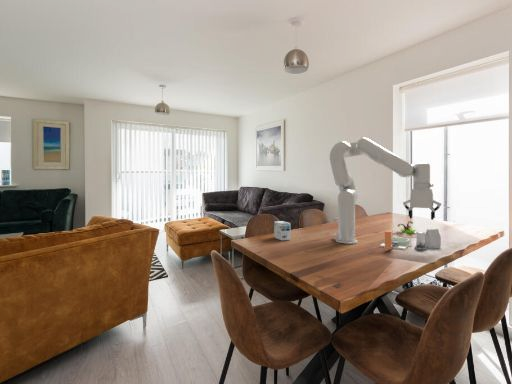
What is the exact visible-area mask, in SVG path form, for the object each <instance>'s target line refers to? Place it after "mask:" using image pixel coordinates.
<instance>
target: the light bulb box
mask: <svg viewBox="0 0 512 384" xmlns="http://www.w3.org/2000/svg"><path fill="white" fill-rule="evenodd" d="M273 225H274V226H273V229H274V230H273V232H274V233H273V234H274V235H273V236H274V237H275V238H274V237H273V238H274V239H277V240H280V241H291V235H292V234H291V233H292V231H291V222H288V221H284V220H278V221H274V222H273Z"/></svg>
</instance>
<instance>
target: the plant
mask: <svg viewBox="0 0 512 384" xmlns="http://www.w3.org/2000/svg"><path fill="white" fill-rule="evenodd" d="M409 224H411V225H409ZM412 224H414V222H413V221H411V220H410V221H408V222H407V224H406V225H405V224H404V223H399V224H397V227H399V230H400V231H395V232H394V231H393V235H394V236H395V237H397V238H406V239H416V232H417V229H413V228H412ZM400 226H403V229H402V228H401V227H400Z"/></svg>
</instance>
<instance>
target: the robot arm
mask: <svg viewBox="0 0 512 384" xmlns="http://www.w3.org/2000/svg"><path fill="white" fill-rule="evenodd" d="M362 155H364V156H366V157H367V158H369V159H370V160H372V161H374V162H375V163H377V164H379V165H382V166H384V167H385V168H387V169H390V170H391V171H392V172H394V173H396V174H397V175H398V176H399V177H400V178H401V177H402V178H411V177H412V187H413V188H411V191H410V196H409V197H410V198H409V199H408V200H405V201H403V202H402V204H403V206H404V208H405V209H406V210H407V211H408V217H409V219H413V210H412V209H414V208H416V209H429V210H431V211H430V220H432V221H433V220H434V219H435V218H436V211H438V210H439V209H440V207H442V202H440V201H436V200H434V194H433V189H432V187H433V188H434V184H433V183H431V164H430V163H427V162H419V163H415V164H412V163H410V162H408V161H407V160H405V159H403V158H401V157H400V156H398V155H397V154H395V153H393V152H391V151H390V150H388V149H386V148H384V147H383V146H381V145H380V144H378V143H376V142H374V141H373V140H371V139H370V138H368V137H362V138H360V139H358V140H357V141H355V142H350V143H349V142H347V141H345V140H341V141H338V142H337V143H335V144H334V146H332V148H331V150H330V153H329V162H330V166H331V171H332V174H333V175H332V176H333V180H334V183H335V185H336V186H338V189H339V193H338V195H337V206H338V207H337V208H338V209H337V211H338V212H337V213H338V214H337V215H338V220H337V224H338V225H337V226H338V229H337V230H338V231H337V233H332V234H331V236H332V237H333V238H335V242H336V243H339V244H351V245H352V244H358V242H359V241H358V239H356V201H357V199H358V193H357V190H356V185H355V182H354V179H353V176H352V175H351V174H350V173H349V172H348V168H347V167H348V166H347V164H346V160H345V158H350V157H357V156H362ZM408 203H409V204H410V207H409V205H408ZM434 205H436V207H435V208H434Z"/></svg>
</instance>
